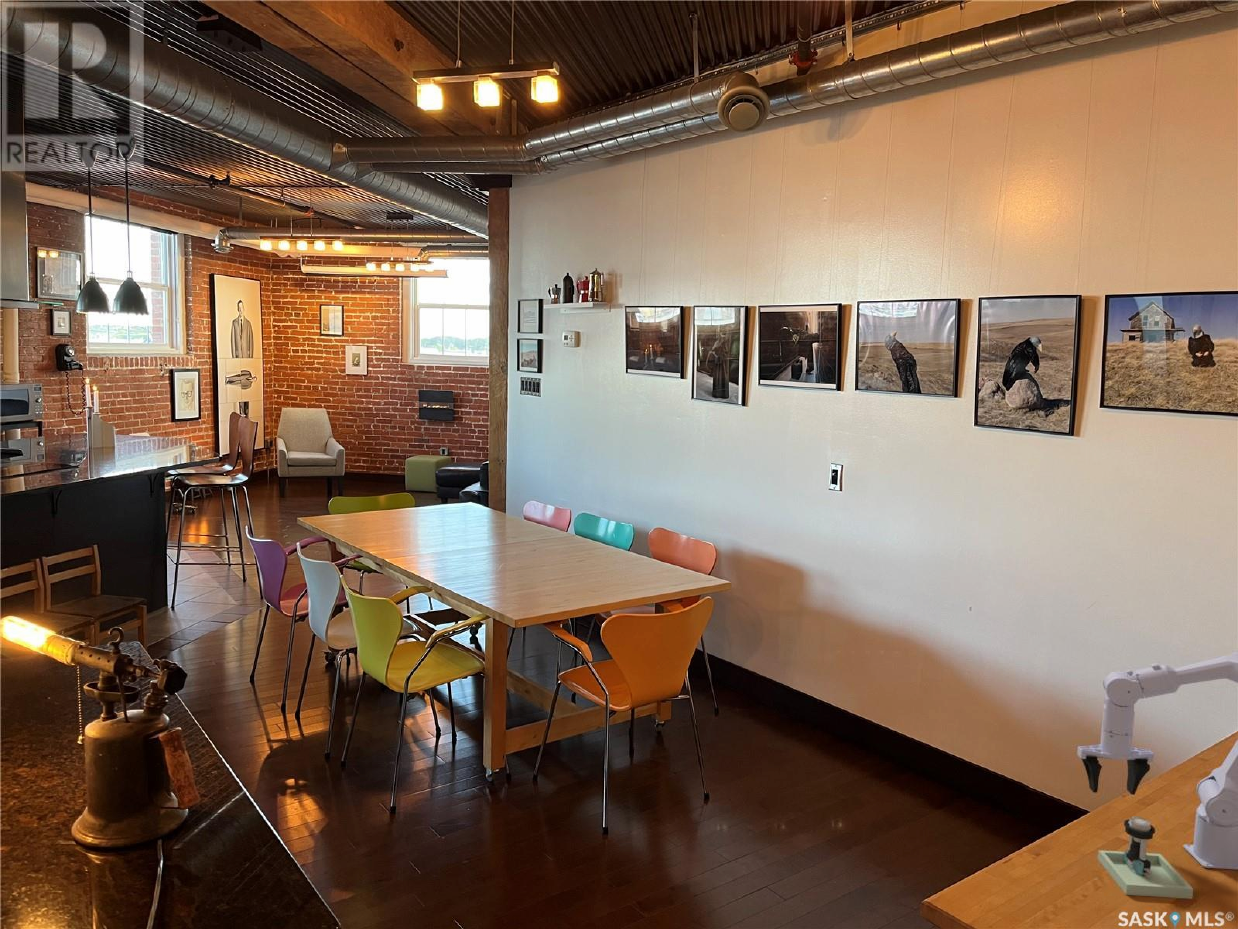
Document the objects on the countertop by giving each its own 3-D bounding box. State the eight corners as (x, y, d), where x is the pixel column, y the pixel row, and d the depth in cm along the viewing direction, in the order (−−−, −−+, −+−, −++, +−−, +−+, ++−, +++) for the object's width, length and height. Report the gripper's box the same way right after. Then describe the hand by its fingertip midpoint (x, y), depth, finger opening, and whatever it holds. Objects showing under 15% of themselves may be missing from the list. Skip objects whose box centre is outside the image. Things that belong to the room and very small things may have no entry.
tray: (1159, 863, 179) (1160, 854, 179) (1192, 899, 167) (1193, 889, 167) (1097, 859, 180) (1098, 850, 180) (1125, 894, 168) (1126, 884, 168)
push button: (1162, 879, 173) (1167, 831, 172) (1138, 881, 172) (1142, 833, 171) (1138, 860, 179) (1142, 813, 178) (1114, 862, 178) (1118, 815, 177)
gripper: (1143, 724, 189) (1138, 784, 191) (1073, 720, 190) (1068, 780, 192) (1161, 737, 182) (1155, 800, 184) (1087, 734, 183) (1082, 796, 185)
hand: (1112, 791), depth 187 cm, fingers open, 7 cm apart
